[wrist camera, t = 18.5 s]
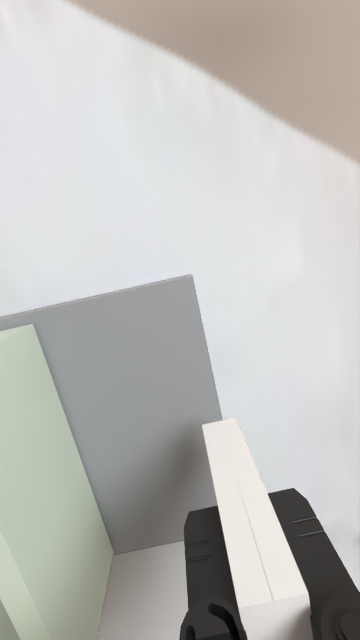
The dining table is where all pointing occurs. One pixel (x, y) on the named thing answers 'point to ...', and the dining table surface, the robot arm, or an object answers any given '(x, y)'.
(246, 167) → the dining table surface
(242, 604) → the robot arm
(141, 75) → the dining table surface
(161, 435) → the base
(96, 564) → the housing
